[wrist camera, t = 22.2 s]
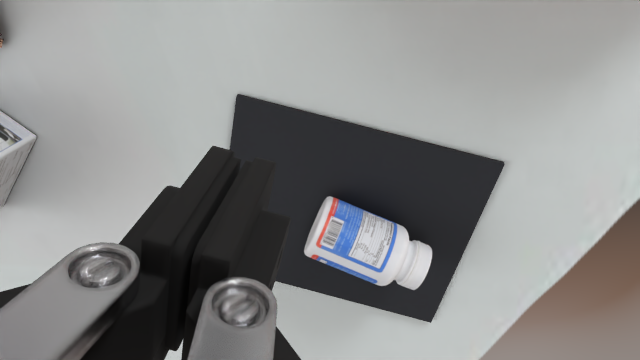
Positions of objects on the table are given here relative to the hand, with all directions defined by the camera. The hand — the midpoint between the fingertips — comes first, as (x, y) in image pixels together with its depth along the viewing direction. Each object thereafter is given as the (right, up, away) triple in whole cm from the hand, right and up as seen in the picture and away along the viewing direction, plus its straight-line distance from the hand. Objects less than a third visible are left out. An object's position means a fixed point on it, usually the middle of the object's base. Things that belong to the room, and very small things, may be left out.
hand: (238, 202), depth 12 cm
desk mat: (+4, -3, +29) cm, 30 cm away
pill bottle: (+2, -3, +26) cm, 27 cm away
